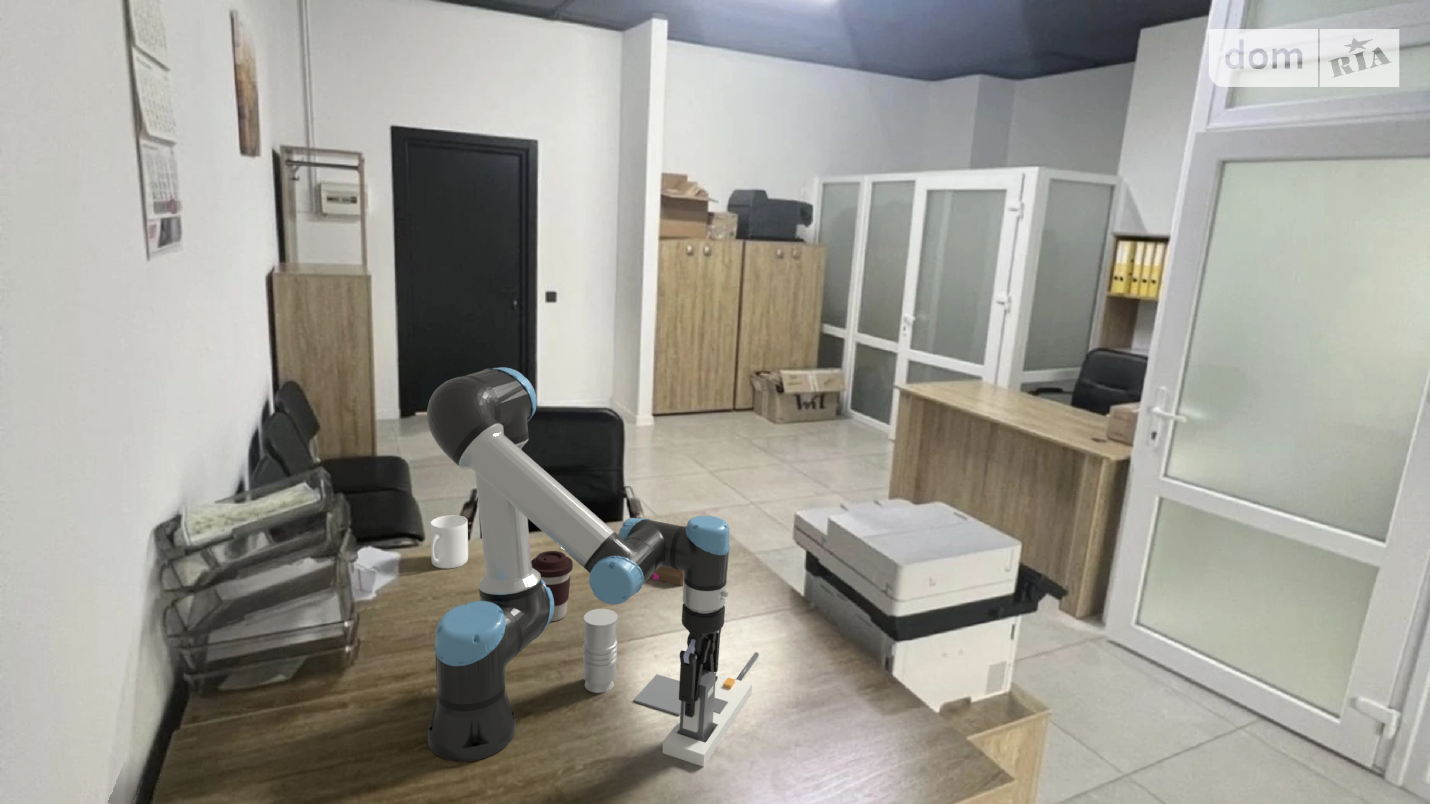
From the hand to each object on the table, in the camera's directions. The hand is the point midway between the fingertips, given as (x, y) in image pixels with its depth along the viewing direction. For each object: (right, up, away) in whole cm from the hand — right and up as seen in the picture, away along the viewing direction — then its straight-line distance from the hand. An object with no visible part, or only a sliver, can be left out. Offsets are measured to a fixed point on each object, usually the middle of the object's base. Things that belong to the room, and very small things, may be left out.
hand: (696, 720), depth 139 cm
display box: (-10, +12, +71) cm, 72 cm away
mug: (-69, +14, +67) cm, 97 cm away
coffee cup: (-36, +7, +43) cm, 56 cm away
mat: (-6, -1, +14) cm, 15 cm away
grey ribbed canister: (-20, 0, +16) cm, 26 cm away
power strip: (+5, -2, +13) cm, 14 cm away
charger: (0, -3, +1) cm, 3 cm away
